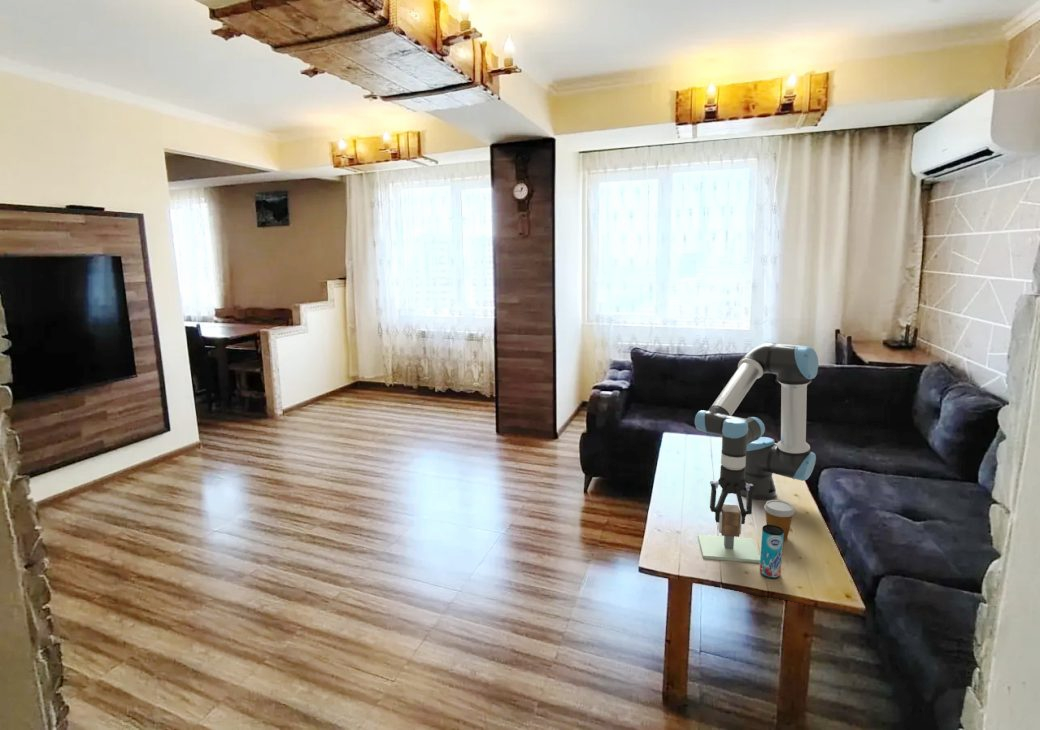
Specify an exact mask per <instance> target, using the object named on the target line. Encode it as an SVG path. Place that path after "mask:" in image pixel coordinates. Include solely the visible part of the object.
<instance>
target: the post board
mask: <svg viewBox="0 0 1040 730" xmlns="http://www.w3.org/2000/svg"><path fill="white" fill-rule="evenodd" d="M697 538H698V539H697V540H698V543H699V547H700V551H701V554H702V558H703V559H707V560H720V561H731V562H741V563H742V562H744V563H754V564H755V563H756V564H760V558H761V553H759V550H758V548H757V545H756V543H755V541H754V538H752V537H740V536H739V537H734V536H722V535H713V534H712V535H708V534H697Z"/></svg>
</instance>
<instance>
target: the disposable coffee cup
mask: <svg viewBox="0 0 1040 730" xmlns="http://www.w3.org/2000/svg"><path fill="white" fill-rule="evenodd" d="M763 508H764V511H765V522H766V524H765V525H775V526H778V527H780V528H782V529H783V530H784V536H783V543H784V542H787V541H788V536H789V533H790V528H791V523H792V520H793V515H794V514H795V511H796V510H795V509H794V506H793V505H792V504H791V503H789V502H786V501H783V500H779V499H778V500H776V499H771V500H770V499H769V500H767V501H766V502H765V504H764V506H763Z"/></svg>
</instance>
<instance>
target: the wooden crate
mask: <svg viewBox="0 0 1040 730" xmlns="http://www.w3.org/2000/svg"><path fill="white" fill-rule="evenodd" d="M721 512H722V531H721V533H720V534H721V536H734V537H740V535H741V534H740V518H741V511H740V507H739V504H738V505H737V504H736V505H735V504H725V503H724V504H723V507H722V510H721Z"/></svg>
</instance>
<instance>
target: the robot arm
mask: <svg viewBox="0 0 1040 730" xmlns="http://www.w3.org/2000/svg"><path fill="white" fill-rule="evenodd" d="M818 369H819V357H818V354H817V352H816V350H815V348H812V347H811V346H806V345H801V344H787V343H776V342H766V343H762V344H760V345H758V346H756V347H754V348H752V349H751V350H749V351H747V353H746V354H744V355H743V356H742V357H741V359H740V360H739V362H738V364H737V369H736V371H735V372H734V374H733V375H732V376H731V378H730V379H729V380H728V382H727V384H726V385H725V386H724V387H723V389H722V390H721V392H719V393H720V394H719V395H718V396H717V398H716V399H715V401H714V402H713V403H712V405H710V407H709V409H708V410H704V409H703V410H702V409H701V410H698V412H697V413H696V414H695V417H694V425H695V426H694V427H695V428H696V430H698V431H699V432H700V431H701V432H704V433H707V434H712V435H716V436H721V437H722V438H721V458H720V464H721V465H720V469H719V471H720V474H719V479H718V480H716V481H712V480H711V481H710V482H709V484H710V487H711V490H710V491H711V492H710V503H709V508H710V511H711V512H712V513H714V520H715V522H716V523H717V530H718V531H717V532H718V534H721V531H722V512H721V510H722V507H723V504H725V501H726V499H727V497H728V495H729V494H733V495H736V498H737V499H736V500H737V503H738V507H739V510H740V512H741V518H740V534H739V535H741V534H742V525H745V523H746V517H747V515H752V513H753V512H752V511H753V499H754V500H770V499H771V500H772V499H773V498H775V497H776V493H777V492H776V491H777V489H776V485H775V482H774V478H773V474H774V475H778V476H782V477H786V478H789V479H793V480H796V481H801V482H802V481H803V482H804V481H806V480H808V479H809V478H810V476H811V475H812V473H813V470H814V468H815V465H816V460H817V456H816V453H815V452H813V451H811V446H810V444H809V443H808V442H807V440H806V438H807V400H808V399H807V391H808V385H809V384H810V383H812V379H815V378H816V376H817V375H818ZM764 374H773V375H776V381H777V382H778V383H779V384H780V385H781V390H780V392H781V393H780V395H781V396H780V397H781V399H780V400H781V401H780V402H781V403H780V404H781V406H780V410H781V411H780V440H778V442H775V439H774V438H771V437H766V436H763V435H764V433H765V432H766V427H765V424H764V422H763V421H762V419H761V418H759V417H757V416H756V417H755V416H748V417H747V418H743V417H739V416H734V415H733V414H734V413H735V411H736V410H737V409H738V407H739V406H740V404H741V402H742V401H743V399H744V398H745V396H746V395H747V393H749V391H750V389H751V388H752V387H753V385H754V383H755V382H756V381H757V379H760V378H762V377H763V375H764ZM719 487H720V488H721V493H720V496H719V498H718V500H717V489H718V488H719ZM742 497H745V498H746V508H745V506H744V502H743V498H742ZM716 500H717V502H716ZM716 503H717V504H716Z"/></svg>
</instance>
